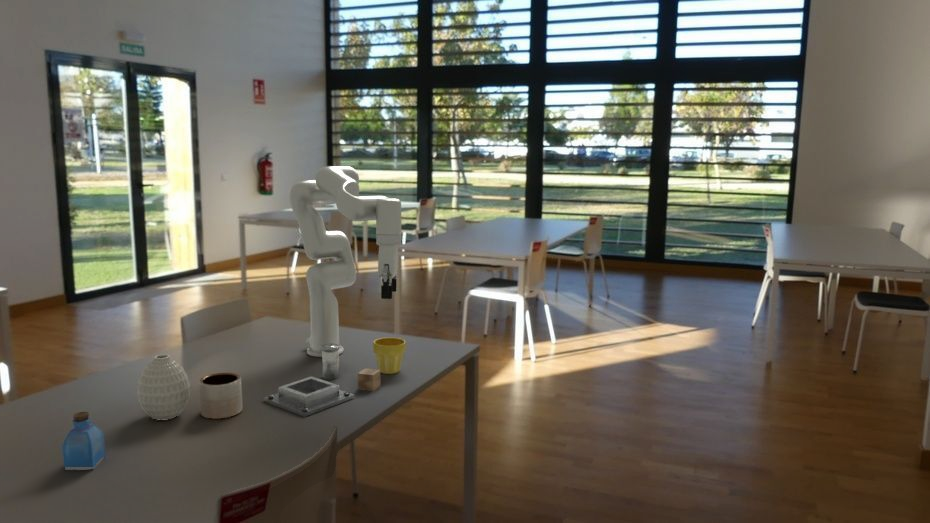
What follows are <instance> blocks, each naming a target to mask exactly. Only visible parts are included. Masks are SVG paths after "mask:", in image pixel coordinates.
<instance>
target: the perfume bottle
mask: <svg viewBox="0 0 930 523" xmlns="http://www.w3.org/2000/svg"><path fill="white" fill-rule="evenodd" d="M89 415H90V412H88V411H79V412H76V413H73V414H72V417H73V420H72V426H74V427H73V428H72V429H70V430H69V431H68V433H67V435H66V437H65V439H64V441H63V442H62V444H61V445H62V446H61V447H62V456H63V457H62V459H63V468H64V467H94V466H95V465H96V463H97V462H98V461H99V460H100V459H101V458H102V457H104V456H105V457H106V453H105V452H106V449H105V438H104V432H103V431H102V430H101V428H99V427H98V425H97V424H91V417H90V416H89Z"/></svg>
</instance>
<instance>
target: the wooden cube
mask: <svg viewBox="0 0 930 523" xmlns="http://www.w3.org/2000/svg"><path fill="white" fill-rule="evenodd" d="M381 379H382V378H381V372H380V370H379V369H374V368H367V367H366V368H363V370H361V371H358V373H357V386H358V387H357V389H358V390H361V389H364V390H363V391H369V390H370V392H375V391H376V390H377V389H378V388H379V387H381Z"/></svg>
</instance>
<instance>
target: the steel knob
mask: <svg viewBox="0 0 930 523" xmlns="http://www.w3.org/2000/svg"><path fill="white" fill-rule="evenodd" d="M340 346H341V344H340V343H339V344H334V343H329V344H324V345H321V350H322V357H321V359H322V360H321V361H322V379H323V380H328V381H329V380H336V379H339V378H340V362H339V361H340V359H339V357H340V356H339V355H340V354H339V349H340Z"/></svg>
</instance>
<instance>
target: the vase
mask: <svg viewBox="0 0 930 523" xmlns="http://www.w3.org/2000/svg"><path fill="white" fill-rule="evenodd" d="M136 390H137V391H136V392H137V399H138V402H139V404H140V407H141V408H142V410H143V411H144V412H145V413H146V415H147V416H149V418H151V419H153V420H154V419H160V420H162V419H170V418H173V417H176V416H177V417H178V416H179V415H180V414H181V413H182V412H183V411H184V409H185V407H186V406H187V404H188V401H189V398H190V395H191V383H190V378H189V376H188V374H187V372H186V370H185V369H184V367H183V366H182V365H181V364H179V363H178V362H177V361H175V359H173V358H172V357H171V355H169V354H166V353H165V354H164V353H163V354H157V355H155V356H153V357H152V360H151V361H150V362H149V363H148V364H147V366H145V367H144V369H143V370H142V372H141V374H140V376H139V378H138V381H137V388H136ZM177 417H176V418H177Z"/></svg>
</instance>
